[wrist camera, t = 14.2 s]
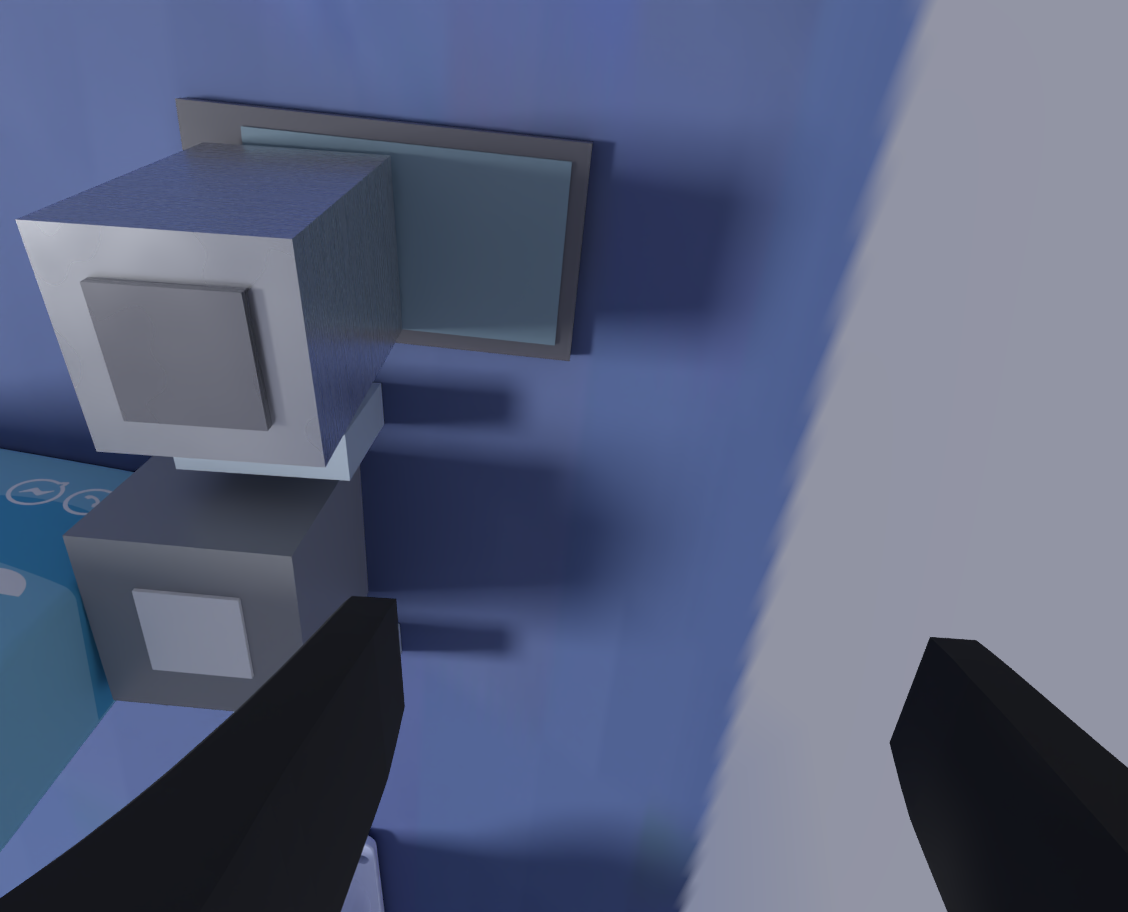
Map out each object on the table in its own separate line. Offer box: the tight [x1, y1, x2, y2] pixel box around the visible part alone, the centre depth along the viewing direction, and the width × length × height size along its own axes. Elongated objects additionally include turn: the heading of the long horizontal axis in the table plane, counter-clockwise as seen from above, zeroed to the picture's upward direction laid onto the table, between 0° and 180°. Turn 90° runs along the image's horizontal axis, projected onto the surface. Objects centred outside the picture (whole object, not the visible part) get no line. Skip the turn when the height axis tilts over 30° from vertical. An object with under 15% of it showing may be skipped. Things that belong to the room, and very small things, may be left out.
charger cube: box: [62, 456, 368, 711], centre depth 19 cm, size 5×5×5 cm
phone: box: [175, 98, 593, 361], centre depth 17 cm, size 5×9×1 cm, turn 85°
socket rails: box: [173, 383, 402, 712], centre depth 20 cm, size 9×4×3 cm, turn 178°
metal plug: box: [16, 142, 402, 468], centre depth 14 cm, size 4×4×6 cm
